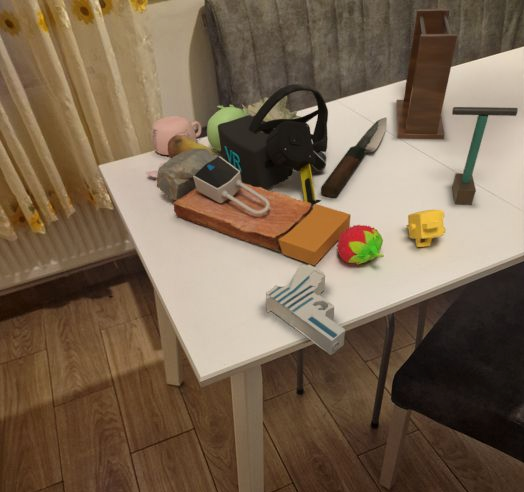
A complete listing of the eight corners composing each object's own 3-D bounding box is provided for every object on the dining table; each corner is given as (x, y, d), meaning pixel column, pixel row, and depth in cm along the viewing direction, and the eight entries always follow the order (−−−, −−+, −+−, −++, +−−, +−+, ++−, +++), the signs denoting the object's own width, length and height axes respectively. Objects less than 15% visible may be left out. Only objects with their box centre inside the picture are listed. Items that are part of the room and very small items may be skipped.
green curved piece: (207, 84, 101) (190, 111, 111) (219, 138, 102) (202, 161, 111) (258, 85, 107) (238, 111, 116) (270, 137, 107) (249, 158, 117)
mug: (140, 119, 111) (147, 145, 115) (157, 132, 105) (163, 160, 109) (189, 106, 115) (193, 132, 119) (208, 117, 109) (212, 145, 113)
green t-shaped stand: (433, 186, 97) (452, 99, 85) (487, 188, 95) (514, 100, 84) (435, 203, 93) (455, 114, 81) (491, 205, 92) (520, 115, 80)
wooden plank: (313, 268, 82) (313, 252, 79) (174, 218, 94) (170, 202, 91) (349, 228, 89) (351, 212, 86) (216, 186, 101) (214, 171, 98)
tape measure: (297, 133, 95) (262, 127, 91) (311, 122, 91) (275, 115, 87) (309, 208, 94) (274, 206, 90) (323, 199, 91) (288, 197, 86)
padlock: (219, 153, 91) (279, 190, 85) (222, 172, 95) (280, 208, 89) (192, 174, 89) (252, 213, 83) (197, 192, 93) (254, 230, 87)
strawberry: (324, 223, 80) (364, 251, 74) (360, 210, 83) (402, 236, 77) (322, 254, 84) (360, 283, 78) (357, 240, 87) (396, 267, 81)
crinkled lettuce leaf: (283, 124, 127) (231, 134, 121) (281, 91, 123) (227, 99, 117) (320, 127, 115) (264, 138, 109) (319, 90, 111) (261, 100, 105)
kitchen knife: (346, 189, 93) (321, 184, 95) (345, 200, 95) (320, 195, 97) (397, 113, 114) (375, 110, 116) (395, 123, 116) (374, 120, 118)
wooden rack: (396, 103, 124) (409, 8, 109) (437, 104, 122) (457, 8, 108) (397, 138, 111) (412, 36, 97) (443, 139, 110) (466, 36, 95)
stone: (191, 149, 102) (206, 129, 95) (215, 182, 104) (231, 166, 97) (146, 177, 96) (159, 158, 90) (172, 212, 98) (187, 196, 91)
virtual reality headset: (214, 167, 108) (202, 94, 97) (300, 134, 115) (298, 63, 104) (260, 203, 97) (252, 126, 85) (351, 165, 103) (355, 88, 92)
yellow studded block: (428, 242, 88) (401, 247, 88) (426, 209, 87) (398, 213, 86) (452, 244, 81) (422, 249, 80) (450, 207, 79) (420, 212, 79)
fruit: (168, 126, 104) (225, 133, 106) (168, 147, 110) (223, 153, 111) (166, 147, 102) (225, 153, 104) (167, 167, 108) (222, 172, 109)
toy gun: (306, 261, 78) (258, 291, 74) (378, 307, 70) (329, 343, 66) (306, 276, 80) (259, 306, 76) (376, 322, 73) (328, 358, 69)
